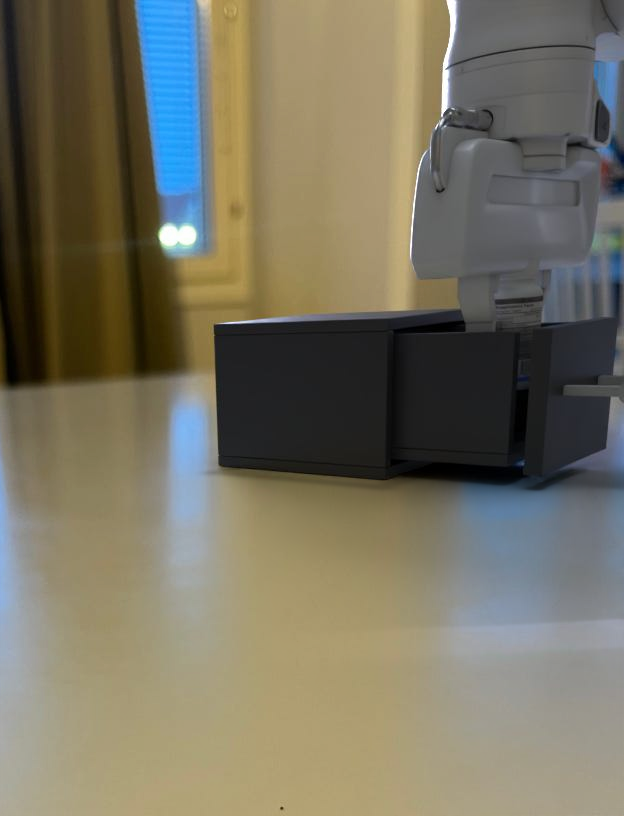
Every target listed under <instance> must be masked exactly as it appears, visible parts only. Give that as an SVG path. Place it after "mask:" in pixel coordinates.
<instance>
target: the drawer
mask: <svg viewBox="0 0 624 816" xmlns="http://www.w3.org/2000/svg"><path fill="white" fill-rule="evenodd" d="M618 325H619V317H618V316H600V317H593V318H588V319H583V320H576V321H547V322H546V321H545V322H544V321H543V322H542V321H541V327H540V328H534V329H533V335H532V350H531V364H530V379H529V389H524V390H517V378H518V362H519V346H520V331H496V332H466V325H433V326H422V327H414V328H407V329H400V330H393V376H392V421H391V459H399V460H413V461H428V462H435V463H443V464H457V465H472V466H473V465H474V466H487V467H499V468H500V467H501V468H502V467H503V468H508V467H510V466H513V465H516V464H518V463H521V462H523V468H522V469H523V470H522V475H523V476H531V477H543V476H545V475H547V474H550V473H552V472H555V471H557V470H560V469H561V468H564V467H567V466H568V465H571V464H573V463H575V462H578V461H580V460H582V459H585V458H587V457H590V456H592V455H595V454H596V453H599V452H601V451H604V450H606V449H607V443H608V434H609V433H608V432H609V431H608V430H609V423H610V422H609V421H610V412H611V400H612V397H614V398H618V399H619V400H620V402H621V403H623V404H624V375H623V374H622V375H619V374H617V375H616V374H614V369H615V358H616V348H617V337H618V327H619V326H618Z"/></svg>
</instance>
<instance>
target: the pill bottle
mask: <svg viewBox="0 0 624 816" xmlns="http://www.w3.org/2000/svg"><path fill="white" fill-rule="evenodd" d="M539 260H540V257H539V255H531V256H530V260H529V262H528V265H527V267H526V269H524V270H523V271H521V272H515V273H504V274H499V288H498V293H496V294H494V298H495V307H496V316H497V321H502V331H520V346H519V362H518V378H517V390H524V389H529V379H530V364H531V350H532V335H533V329H534V328H540V327H541V322H542V318H543V317H542V314H543V310H542V306H543V291H542V289H541V287H540V286H538V285H537V284H535V282H534V279H535V278H537V277H538V273H539Z"/></svg>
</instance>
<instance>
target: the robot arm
mask: <svg viewBox="0 0 624 816" xmlns="http://www.w3.org/2000/svg"><path fill="white" fill-rule="evenodd" d="M446 3H447V8H448V12H449V17H450V34H449V41H448V47H447V50H446V53H445V56H444V60H443V66H442V91H441V118H440V119H439V120H438V122H437V124H436V127H434V128H433V129H432V131H431V135H430V142H429V144H430V145H429V146H430V147H428V148H427V149H426V150H425V152H424V153H423V155H422V156H421V159H420V163H419V165H418V169H417V176H416V183H415V191H414V200H413V209H412V221H411V233H410V234H411V235H410V251H409V252H410V253H409V254H410V255H409V257H410V262H411V267H412V270H413V272H414V274H415V277H416V278H417V279H418V280H420V281H421V280H422V281H423V280H425V281H426V280H442V279H443V280H444V279H455V278H457V286H456V287H457V288H456V297H457V301H458V304H459V308H461V311H462V314H463V318H464V321H465V323H466V332H496V331H502V321H497V316H496V307H495V298H494V294H496V293H498V288H499V274H504V273H515V272H521V271H523V270H524V269H526V267H527V265H528V262H529V260H530V256H531V255H539V257H540V260H539V273H538V277H537V278H535V279H534V282H535V284H537V285H538V286H540V287H541V289H542V291H543V306H542V311H543V310H544V307H545V305H546V303H547V302H546V301H547V298H548V296H549V293H550V290H551V286H552V285H551V284H552V270H559V269H571V268H572V269H573V268H581V267H583V266H584V265H585V263H586V261H587V259H588V258H589V254H590V252H591V249H592V246H593V242H594V238H595V230H596V224H597V217H598V216H597V215H598V209H599V201H600V200H599V199H600V192H601V183H602V159H601V155H600V152H599V151H598V150H599V149H605V148H607V147H609V145H610V144H611V141H612V137H613V136H612V135H613V125H614V124H613V114H612V111H611V110H610V108H609V107H608V106H607V104H606V103H605V102H604V100H603V98H602V96H601V94H600V92H599V88H598V81H597V79H596V78H595V67H596V63H597V62H598V63H615V62H623V61H624V0H446Z"/></svg>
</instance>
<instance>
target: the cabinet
mask: <svg viewBox="0 0 624 816" xmlns="http://www.w3.org/2000/svg"><path fill="white" fill-rule="evenodd" d="M433 325H466V323H465V321H464V318H463V314H462V311H461V308H460V307H458V308H437V309H436V308H435V309H411V310H410V309H409V310H386V311H383V310H382V311H381V310H380V311H359V312H358V311H355V312H333V313H307V314H298V315H288V316H287V315H286V316H278V317H269V318H259V319H250V320H249V319H248V320H239V321H230V322H222V323H214V324H213V349H214V372H215V373H214V374H215V375H214V377H215V378H214V379H215V405H216V406H215V407H216V409H215V410H216V431H217V432H216V435H217V436H216V437H217V455H218V456H217V463H218V466H220V467H229V468H230V467H231V468H243V469H253V470H267V471H277V472H289V473H291V472H292V473H302V474H313V475H323V476H324V475H325V476H337V477H348V478H350V477H351V478H359V479H374V480H382V481H383V480H384V481H385V480H388V479H391V478H394V477H396V476H400V475H402V474H405V473H408V472H411V471H414V470H418V469H420V468H424V467H426V466H429V465H431V464H432V465H433V464H434V463H436V462H428V461H413V460H399V459H391V421H392V376H393V330H400V329H407V328H414V327H422V326H433Z"/></svg>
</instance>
